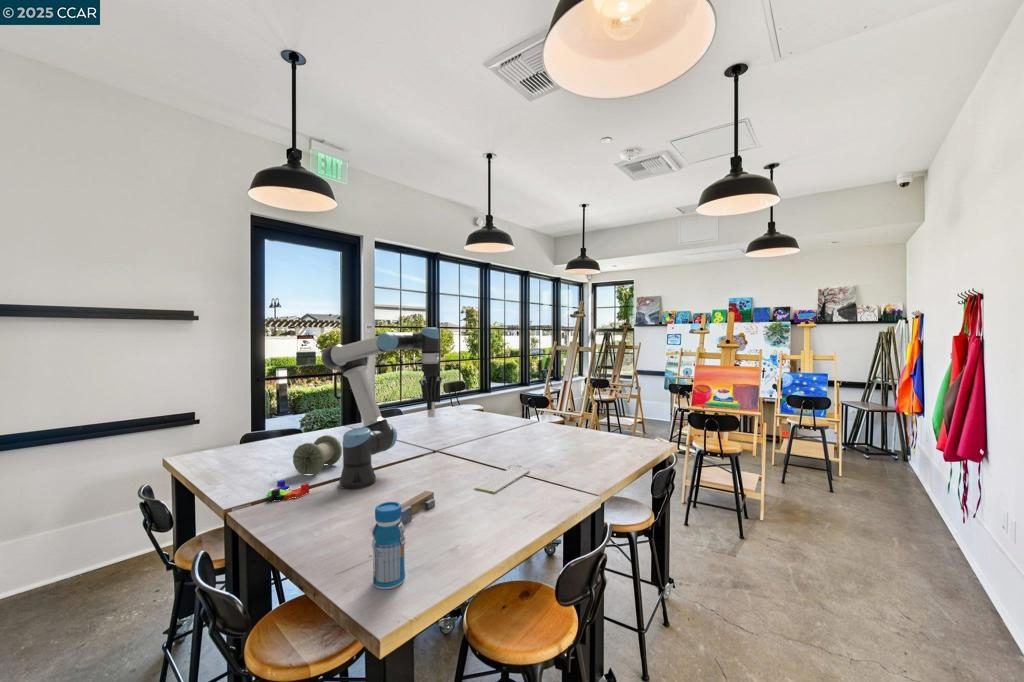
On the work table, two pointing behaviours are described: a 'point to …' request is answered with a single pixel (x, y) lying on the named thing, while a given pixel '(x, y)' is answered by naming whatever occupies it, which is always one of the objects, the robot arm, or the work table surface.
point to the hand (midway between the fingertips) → (431, 416)
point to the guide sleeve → (429, 504)
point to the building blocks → (282, 493)
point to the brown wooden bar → (418, 501)
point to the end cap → (406, 514)
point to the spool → (317, 454)
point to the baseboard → (502, 480)
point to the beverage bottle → (388, 546)
